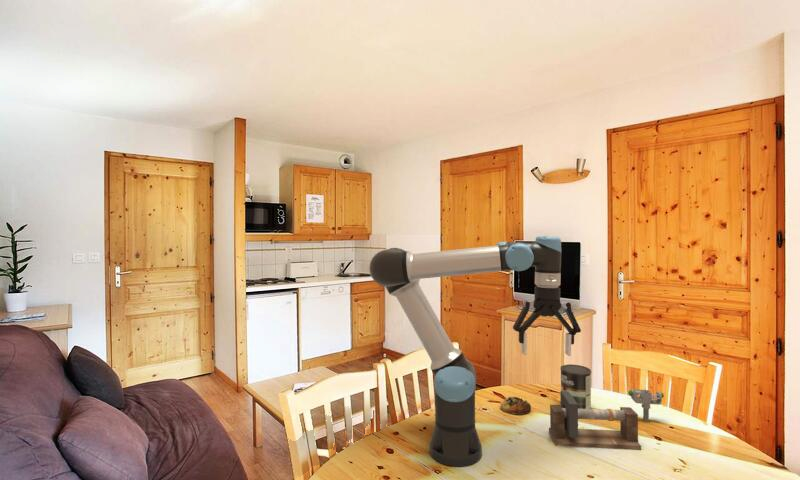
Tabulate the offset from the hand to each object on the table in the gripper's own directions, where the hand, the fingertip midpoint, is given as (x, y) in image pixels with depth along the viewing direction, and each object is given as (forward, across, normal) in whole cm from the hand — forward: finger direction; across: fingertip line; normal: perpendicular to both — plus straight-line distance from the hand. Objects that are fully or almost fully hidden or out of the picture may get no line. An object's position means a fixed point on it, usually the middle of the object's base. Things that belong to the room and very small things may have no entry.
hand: (545, 354), depth 127 cm
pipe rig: (+26, +14, -2) cm, 29 cm away
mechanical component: (+25, +38, +11) cm, 47 cm away
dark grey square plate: (+23, +7, -1) cm, 24 cm away
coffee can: (+26, +19, +22) cm, 39 cm away
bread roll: (+27, -4, +21) cm, 34 cm away
